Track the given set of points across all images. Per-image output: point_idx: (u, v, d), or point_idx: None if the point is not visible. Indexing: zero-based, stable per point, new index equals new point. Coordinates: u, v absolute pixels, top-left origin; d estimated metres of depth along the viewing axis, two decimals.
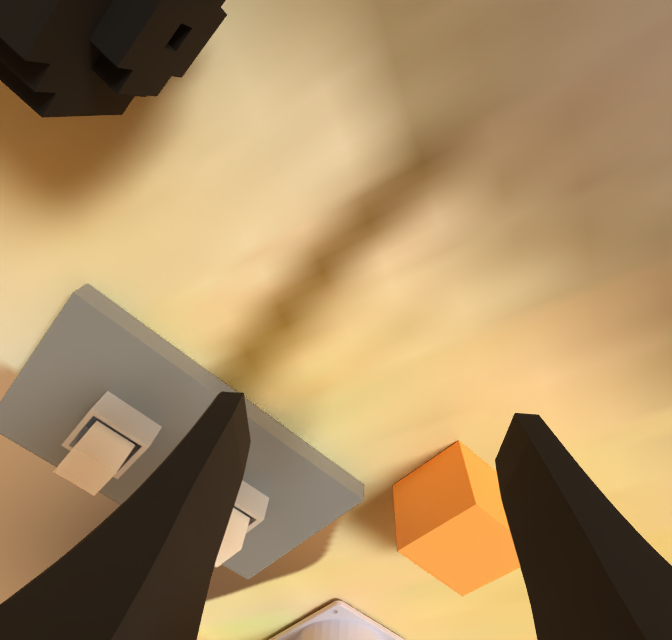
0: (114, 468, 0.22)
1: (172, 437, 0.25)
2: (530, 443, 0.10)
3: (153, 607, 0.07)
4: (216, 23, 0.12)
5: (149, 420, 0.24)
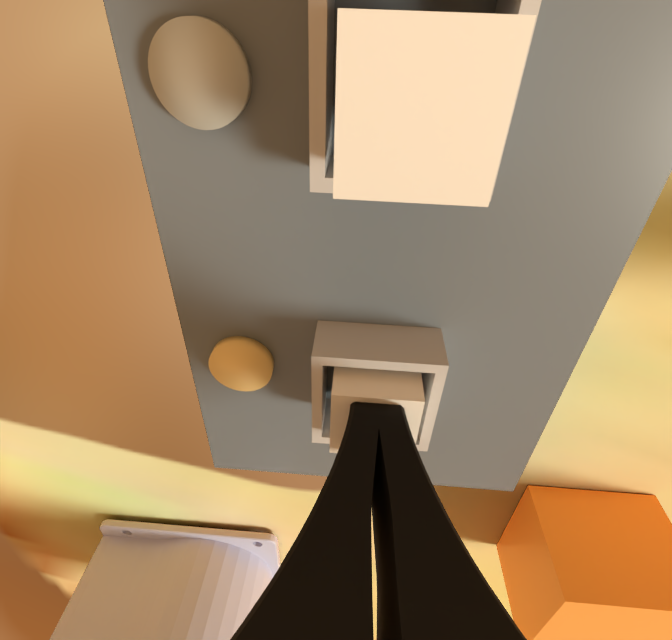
0: (488, 190, 0.07)
1: (456, 212, 0.10)
2: (378, 431, 0.10)
3: None
4: None
5: None
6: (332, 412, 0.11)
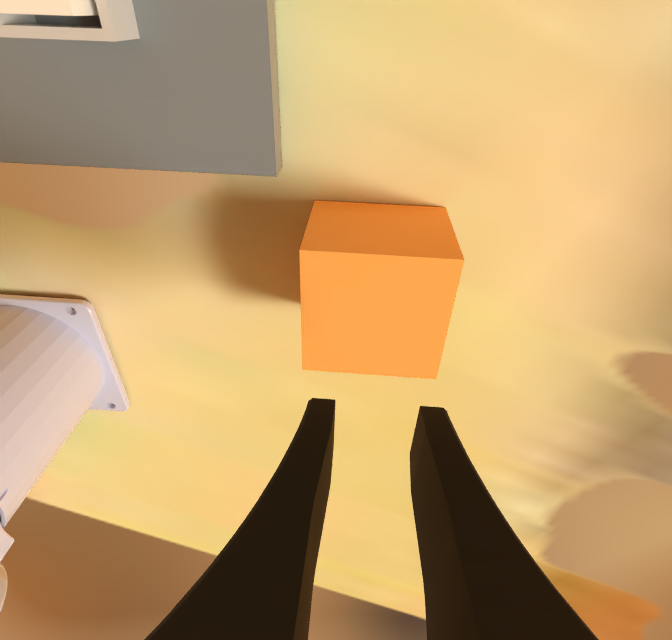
0: None
1: None
2: (425, 435, 0.10)
3: (300, 621, 0.07)
4: None
5: None
6: None
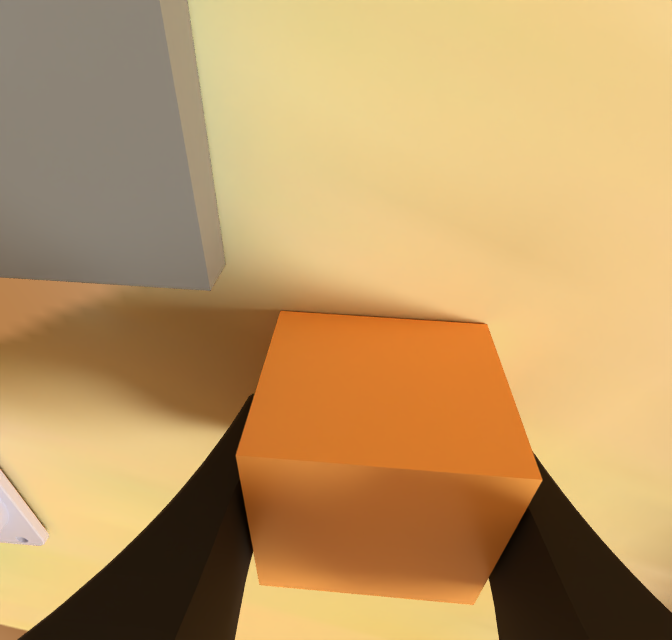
0: None
1: None
2: None
3: (202, 612, 0.07)
4: None
5: None
6: None
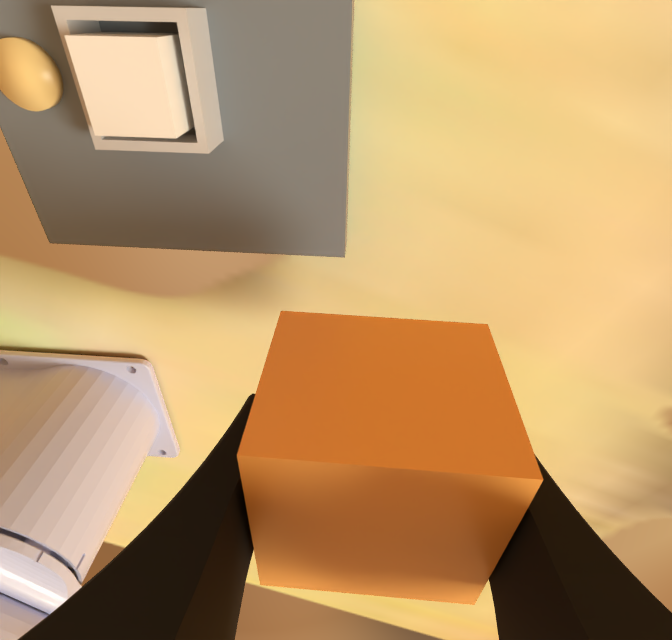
0: None
1: None
2: None
3: (203, 611, 0.07)
4: None
5: None
6: (75, 65, 0.11)
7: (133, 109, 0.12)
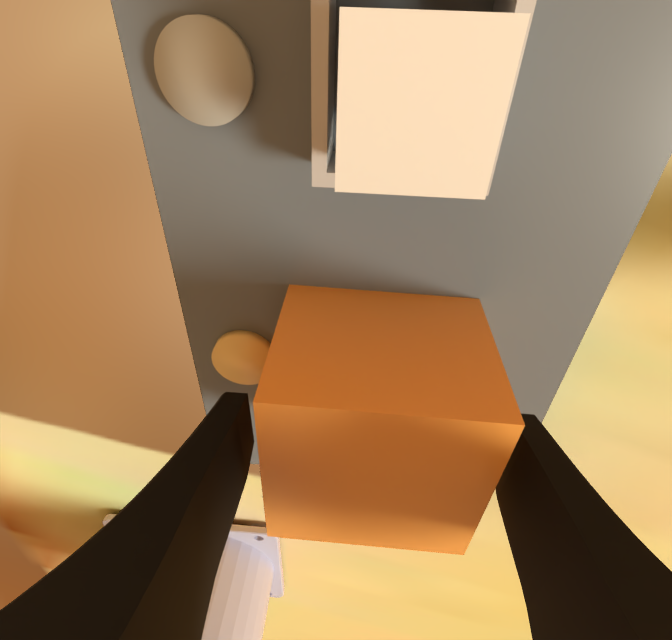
0: (485, 183, 0.07)
1: (455, 207, 0.10)
2: (525, 443, 0.10)
3: (159, 607, 0.07)
4: None
5: None
6: None
7: None
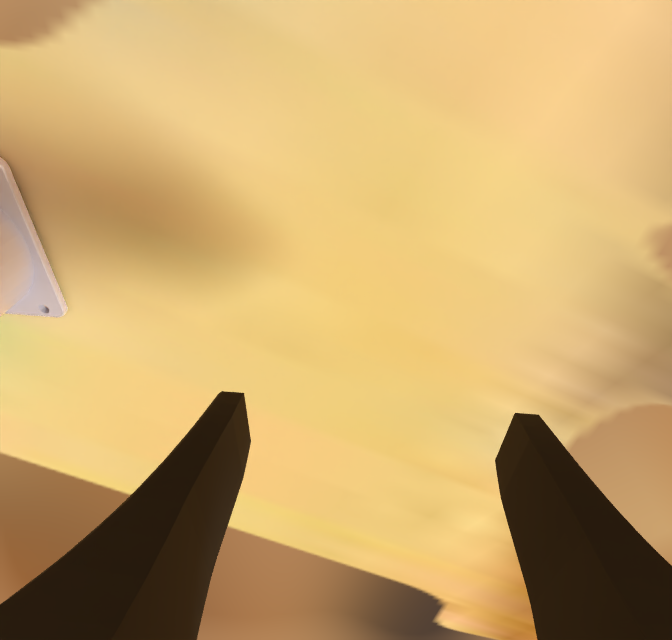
0: None
1: None
2: (530, 443, 0.10)
3: (153, 607, 0.07)
4: None
5: None
6: None
7: None
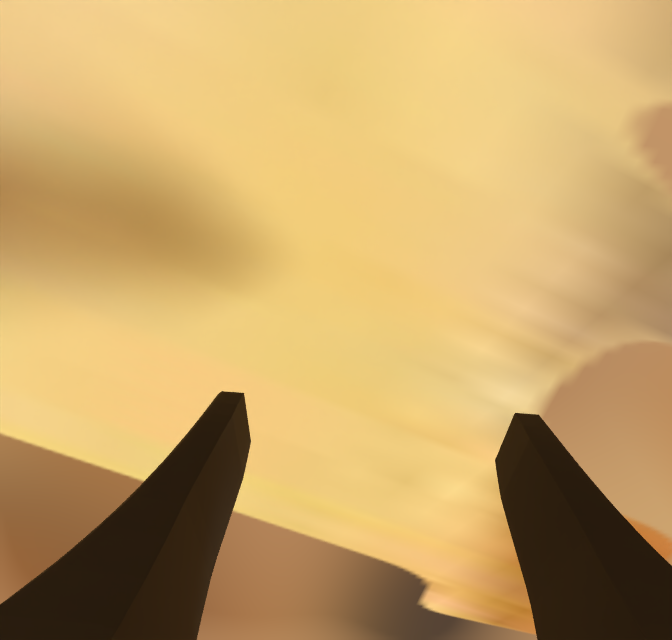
0: None
1: None
2: (530, 443, 0.10)
3: (153, 607, 0.07)
4: None
5: None
6: None
7: None
